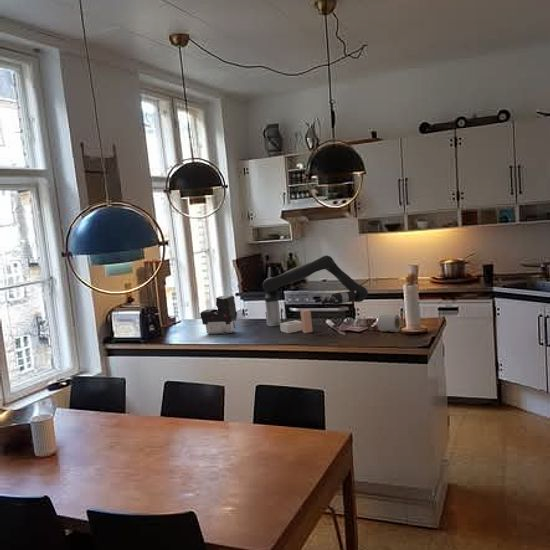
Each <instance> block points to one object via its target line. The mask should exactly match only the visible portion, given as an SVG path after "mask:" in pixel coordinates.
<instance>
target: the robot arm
mask: <svg viewBox="0 0 550 550" xmlns="http://www.w3.org/2000/svg"><path fill="white" fill-rule="evenodd" d="M323 270H326V271H328V273H330V274H331V275H333V276H334V277H335V278H336V279H337V280H338V281H339V282H340V284H341V285H343V287H344V288H346V289H347V290H348V291H340V292H334V293H332V294H331V296H330V295H329V296H322V297H319V298H315V299H314V303H321V305H326V304H328V305H329V304H330V305H331V304H333V305H335V306H336V305H337V306H338V305H342V304H346V303H351V302H352V303H353V302H354V303H360V302H363V301H364V300H365V299H366V297H368V294H369V292H368V289H367V288H366V287H364V286H363V285H361V284H359V283H358V282H356V281H355V280H354V279H353V278H352V277H351V276H350V275H348V274H347V273H345V272H344V270H342V269H341V268H340V267H339V266H338V265H337V263H336V262H335V260H334V259H333V258H332V257H331V256H330V255H327V254H326V255H323V256H321V257H319V258H317V259H315V260H313V261H311V262H307V263H304V264H301V265H299V266H296V267H293V268H290V269H289V270H287V271H285V272H284V273H282V274H280V275H277V276H273V277H270V276H269V277H267V278H266V279H265V280H263V283H262V289H263V290H264V301H265V320H266V326H268V327H277V326H280V323H282V322H281V321H282V319H281V312H280V311H281V310H280V302H279V288H280V287H283V286H286V285H290V284H293V283H296V282H298V281H299V282H300V281H302V280H304V279H306V278H308V277H309V276H311V275H313V274H315V273H316V272H321V271H323ZM354 291H355V292H354Z"/></svg>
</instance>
